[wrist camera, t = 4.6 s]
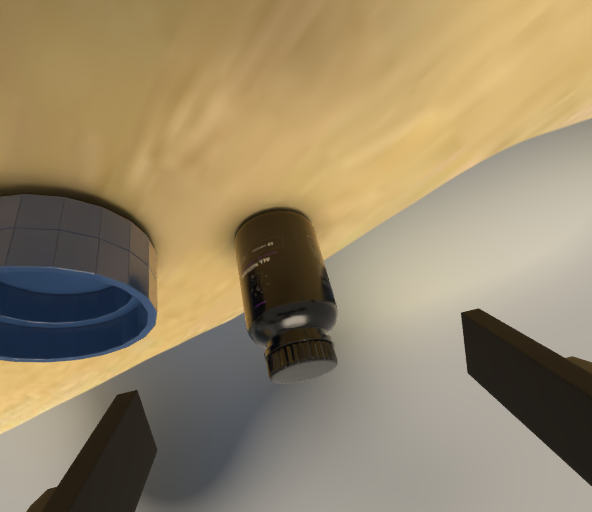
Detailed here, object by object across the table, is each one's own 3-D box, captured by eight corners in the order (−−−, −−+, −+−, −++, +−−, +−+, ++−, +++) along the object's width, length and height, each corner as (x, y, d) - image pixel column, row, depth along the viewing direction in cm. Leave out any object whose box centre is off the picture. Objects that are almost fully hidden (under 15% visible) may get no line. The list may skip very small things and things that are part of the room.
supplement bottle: (236, 207, 28) (263, 361, 21) (321, 206, 30) (369, 346, 23) (229, 259, 33) (249, 395, 27) (301, 256, 35) (336, 381, 29)
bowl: (15, 306, 32) (0, 374, 29) (-121, 201, 21) (-171, 292, 18) (172, 280, 34) (175, 341, 31) (122, 172, 23) (118, 249, 20)
